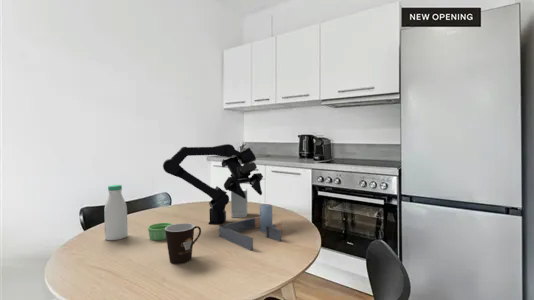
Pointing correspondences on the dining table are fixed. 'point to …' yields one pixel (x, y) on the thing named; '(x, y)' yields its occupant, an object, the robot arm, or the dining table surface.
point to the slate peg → (265, 216)
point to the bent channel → (242, 240)
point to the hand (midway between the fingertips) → (253, 196)
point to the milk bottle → (115, 214)
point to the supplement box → (239, 205)
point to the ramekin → (158, 231)
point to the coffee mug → (180, 242)
